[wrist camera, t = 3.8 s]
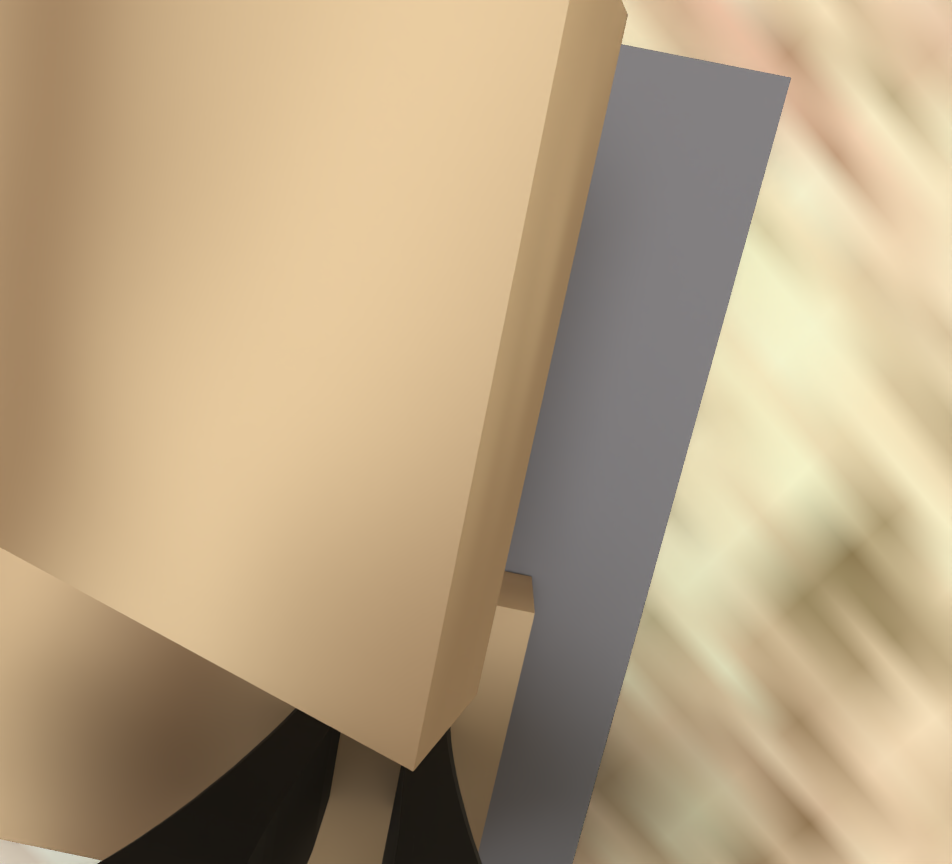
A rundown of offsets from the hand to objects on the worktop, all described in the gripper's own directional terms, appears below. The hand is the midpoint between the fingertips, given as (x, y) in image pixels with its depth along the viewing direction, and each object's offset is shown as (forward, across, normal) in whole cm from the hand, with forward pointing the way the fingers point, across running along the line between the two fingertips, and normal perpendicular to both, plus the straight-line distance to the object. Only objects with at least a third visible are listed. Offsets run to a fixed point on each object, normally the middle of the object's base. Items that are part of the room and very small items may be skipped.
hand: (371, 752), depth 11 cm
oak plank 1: (-1, +5, -7) cm, 9 cm away
